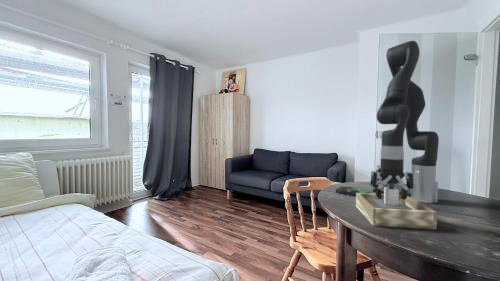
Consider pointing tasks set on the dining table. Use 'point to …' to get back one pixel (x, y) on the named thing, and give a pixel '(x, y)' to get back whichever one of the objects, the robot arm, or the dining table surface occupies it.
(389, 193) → the plug
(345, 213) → the dining table surface
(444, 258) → the dining table surface
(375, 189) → the figurine
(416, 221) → the walled box
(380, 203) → the block
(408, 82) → the robot arm
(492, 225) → the dining table surface
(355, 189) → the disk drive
